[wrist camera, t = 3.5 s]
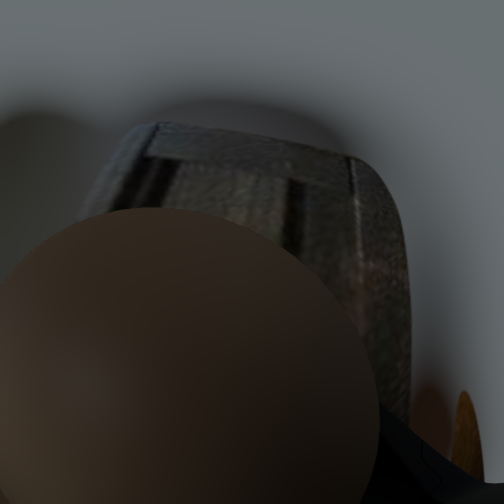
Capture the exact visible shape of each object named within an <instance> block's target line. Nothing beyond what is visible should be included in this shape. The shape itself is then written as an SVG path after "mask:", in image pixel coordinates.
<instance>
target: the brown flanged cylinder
mask: <svg viewBox="0 0 504 504" xmlns="http://www.w3.org/2000/svg"><path fill="white" fill-rule="evenodd" d="M379 431H380V415H379V398H378V393H377V388H376V383H375V378H374V373H373V370H372V367H371V364H370V361H369V358H368V355H367V352H366V350H365V347H364V344H363V342H362V340H361V339H360V337H359V335H358V333H357V331H356V329H355V327H354V325H353V323H352V321H351V319H350V318H349V316H348V315H347V313H346V312H345V311H344V309H343V308H342V306H341V305H340V303H339V302H338V300H337V299H336V297H335V296H334V295H333V294H332V293H331V292H330V291H329V289H328V288H327V287H326V286H325V285H324V284H323V283H322V282H321V280H320V279H319V278H318V277H317V276H316V275H315V274H314V273H313V272H311V271H310V270H309V269H308V268H307V267H306V266H305V265H304V264H302V263H301V262H300V261H299V260H298V259H297V258H296V257H294V256H293V255H291V254H290V253H289V252H287V251H286V250H284V249H283V248H281V247H280V246H278V245H277V244H276V243H274V242H273V241H271V240H269V239H267V238H265V237H263V236H261V235H260V234H258V233H256V232H254V231H252V230H250V229H248V228H246V227H243V226H241V225H238V224H236V223H233V222H231V221H228V220H225V219H223V218H219V217H215V216H212V215H208V214H204V213H200V212H196V211H189V210H181V209H174V208H136V209H127V210H119V211H115V212H110V213H106V214H102V215H97V216H95V217H92V218H89V219H86V220H84V221H81V222H78V223H75V224H73V225H71V226H70V227H68V228H66V229H64V230H62V231H60V232H58V233H56V234H54V235H53V236H51V237H50V238H49V239H47V240H45V241H44V242H43V243H41V244H40V245H38V246H37V247H36V248H35V249H33V250H32V251H31V252H30V253H29V254H28V255H27V256H26V257H24V258H23V259H22V260H21V261H20V262H19V263H18V264H17V265H16V267H15V268H14V269H13V270H12V271H11V273H10V274H9V275H8V276H7V277H6V279H5V280H4V281H3V283H2V284H1V286H0V489H1V490H2V492H3V494H4V495H5V497H6V498H7V499H8V501H9V503H10V504H359V503H360V501H361V499H362V497H363V495H364V493H365V490H366V488H367V486H368V483H369V481H370V478H371V475H372V471H373V468H374V464H375V460H376V456H377V450H378V442H379Z"/></svg>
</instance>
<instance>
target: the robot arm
mask: <svg viewBox="0 0 504 504" xmlns="http://www.w3.org/2000/svg"><path fill="white" fill-rule="evenodd" d="M379 415H380V431H379V442H378V450H377V456H376V460H375V464H374V468H373V471H372V475H371V478H370V481H369V483H368V486H367V488H366V490H365V493H364V495H363V497H362V499H361V501H360V503H359V504H504V483H497V484H494V483H486V482H482V481H480V480H478V479H476V478H474V477H473V476H471V475H470V474H468V473H467V472H465V471H464V470H462V469H461V468H459V467H458V466H456V465H455V464H453V463H452V462H450V461H449V460H448V459H446V458H445V457H443V456H442V455H441V454H439V453H438V452H437V451H436V450H434V449H433V448H432V447H431V446H429V445H428V444H427V443H426V442H425V441H423V440H422V439H421V438H420V437H419V436H418V435H417V434H415V433H414V432H413V431H412V430H411V429H410V428H408V427H407V426H406V425H405V424H404V423H403V422H401V421H400V420H399V419H398V418H397V417H396V416H395V415H393V414H392V413H391V412H390V411H389V410H388V409H387V408H385V407H384V406H383V405H382V404H381V403H380V402H379Z"/></svg>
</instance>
